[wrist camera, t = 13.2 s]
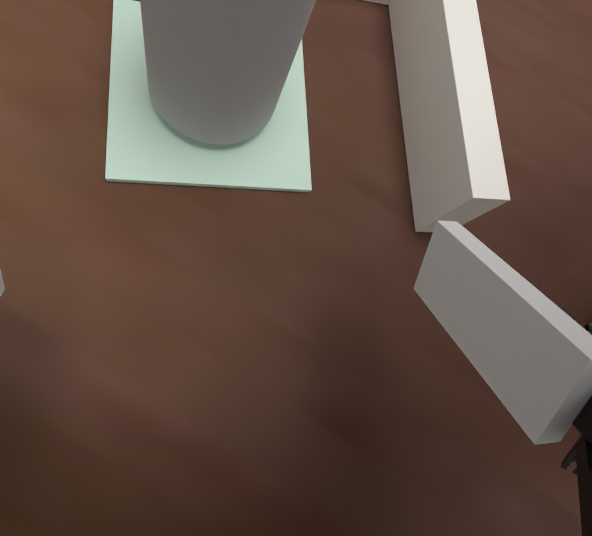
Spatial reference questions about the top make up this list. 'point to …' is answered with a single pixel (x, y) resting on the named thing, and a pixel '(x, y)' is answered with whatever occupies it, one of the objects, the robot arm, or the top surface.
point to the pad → (184, 150)
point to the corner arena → (446, 111)
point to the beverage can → (220, 62)
